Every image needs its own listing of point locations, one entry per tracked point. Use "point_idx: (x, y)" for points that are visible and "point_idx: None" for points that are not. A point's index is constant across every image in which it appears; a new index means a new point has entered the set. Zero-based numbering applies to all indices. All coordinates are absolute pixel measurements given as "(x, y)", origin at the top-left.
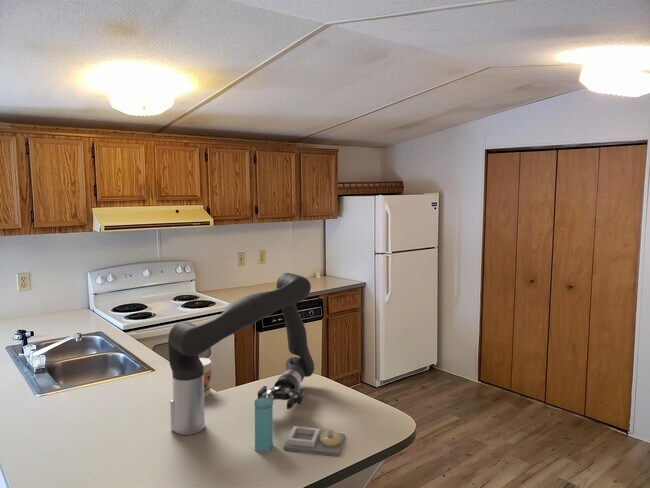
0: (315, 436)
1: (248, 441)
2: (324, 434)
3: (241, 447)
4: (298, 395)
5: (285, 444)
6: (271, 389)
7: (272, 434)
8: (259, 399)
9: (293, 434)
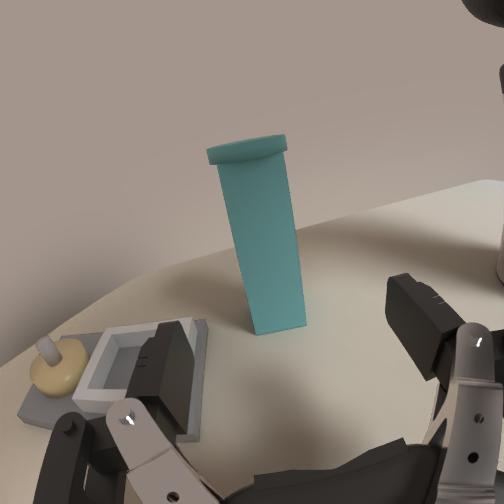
0: (95, 353)
1: (350, 318)
2: (66, 368)
3: (345, 292)
4: (72, 444)
5: (202, 327)
6: (492, 421)
7: (248, 301)
8: (270, 137)
9: None
